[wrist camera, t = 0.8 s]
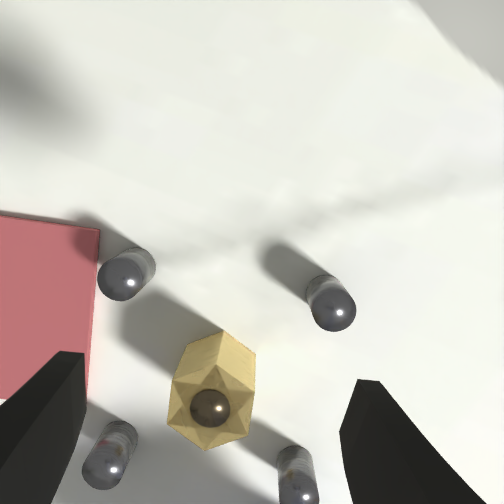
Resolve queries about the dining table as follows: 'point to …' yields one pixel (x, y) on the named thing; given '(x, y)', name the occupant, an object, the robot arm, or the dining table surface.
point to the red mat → (44, 296)
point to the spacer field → (125, 436)
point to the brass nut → (213, 391)
